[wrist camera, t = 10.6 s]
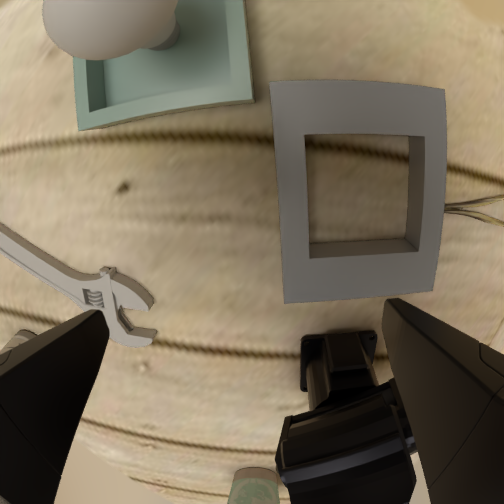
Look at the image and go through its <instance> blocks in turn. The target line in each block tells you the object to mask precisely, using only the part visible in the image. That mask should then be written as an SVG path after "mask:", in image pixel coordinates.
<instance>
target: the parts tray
mask: <svg viewBox="0 0 504 504" xmlns="http://www.w3.org/2000/svg"><path fill="white" fill-rule="evenodd" d="M174 13H175V18H176V20H177V22H178V24H179V26H180V35H179V38H178V40H177V41H176V42H175V43H174V44H173V45H172V46H171V47H169V48H167V49H165V50H161V51H155V50H150V49H148V48H147V49H141V48H139V49H137V50H135V51H133V52H131V53H129V54H127V55H124V56H121V57H118V58H112V59H105V60H86V59H81V58H78V57H74V56H73V69H74V88H75V101H76V113H77V122H78V131H84V130H93V129H102V128H105V127H109V126H114V125H118V124H122V123H126V122H131V121H135V120H140V119H145V118H150V117H155V116H160V115H166V114H171V113H177V112H183V111H190V110H196V109H203V108H211V107H219V106H227V105H237V104H247V103H255V98H254V88H253V77H252V66H251V56H250V46H249V36H248V26H247V16H246V7H245V0H178V2H177V5H176V8H175V10H174Z"/></svg>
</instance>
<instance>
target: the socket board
mask: <svg viewBox="0 0 504 504" xmlns="http://www.w3.org/2000/svg"><path fill="white" fill-rule="evenodd" d="M269 88H270V99H271V111H272V122H273V134H274V147H275V160H276V174H277V188H278V203H279V219H280V236H281V254H282V273H283V292H284V304H287V303H304V302H319V301H333V300H346V299H358V298H370V297H380V296H391V295H401V294H410V293H419V292H428V291H433V286H434V280H435V275H436V269H437V263H438V256H439V250H440V242H441V234H442V226H443V216H444V205H445V191H446V171H447V120H446V100H445V89H439V88H433V87H426V86H418V85H409V84H400V83H389V82H375V81H357V80H290V81H271V82H269ZM306 134H389V135H409V190H408V211H407V225H406V237H405V239H386V240H368V241H350V242H332V243H314V244H309V225H308V196H307V174H306V156H305V139H304V135H306Z"/></svg>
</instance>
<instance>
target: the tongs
mask: <svg viewBox="0 0 504 504" xmlns="http://www.w3.org/2000/svg"><path fill="white" fill-rule="evenodd" d="M501 200H504V195H501V196H498V197H494V198H490V199H483V200H482V199H481V200H477V201H473V202H465V203H455V204H445V205H444V213H450V214H459V215H465V216H469V217H473V218H475V219H478V220H481V221H483V222H486V223H491V224H495V225H498V226H503V227H504V222H502V221H500V220H497V219H495V218H491V217H488V216H486V215H483V214H480V213H475V212H470V211H462V210H460V209H462V208H463V207H478V206H485V205H487V204H491V203H493V202H496V201H501Z"/></svg>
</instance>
